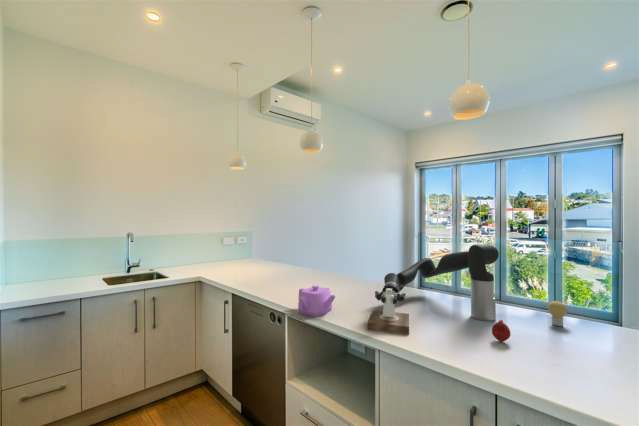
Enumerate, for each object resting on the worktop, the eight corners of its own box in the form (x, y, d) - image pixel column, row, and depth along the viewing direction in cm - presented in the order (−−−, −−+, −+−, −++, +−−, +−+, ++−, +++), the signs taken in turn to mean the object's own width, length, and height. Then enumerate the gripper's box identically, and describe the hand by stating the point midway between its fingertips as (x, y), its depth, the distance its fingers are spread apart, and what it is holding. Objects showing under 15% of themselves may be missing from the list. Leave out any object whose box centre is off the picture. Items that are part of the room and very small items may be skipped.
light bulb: (548, 321, 125) (548, 298, 125) (568, 325, 120) (567, 301, 121) (546, 325, 121) (546, 301, 121) (566, 329, 116) (566, 304, 116)
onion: (510, 346, 100) (510, 324, 100) (491, 343, 103) (491, 320, 103) (510, 340, 105) (510, 319, 105) (491, 337, 108) (491, 316, 108)
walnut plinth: (409, 320, 126) (408, 313, 126) (409, 334, 111) (409, 326, 111) (372, 316, 131) (372, 309, 131) (367, 329, 115) (367, 321, 115)
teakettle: (328, 305, 148) (328, 281, 148) (336, 316, 131) (336, 289, 132) (296, 307, 145) (296, 282, 145) (299, 318, 128) (299, 291, 129)
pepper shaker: (381, 312, 123) (381, 287, 124) (394, 312, 123) (394, 287, 123) (383, 317, 118) (383, 290, 118) (397, 317, 118) (397, 290, 118)
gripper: (406, 300, 132) (406, 312, 116) (375, 297, 137) (371, 308, 120) (406, 284, 132) (406, 293, 116) (375, 282, 137) (371, 290, 120)
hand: (388, 301), depth 118 cm, fingers closed on pepper shaker, 3 cm apart
